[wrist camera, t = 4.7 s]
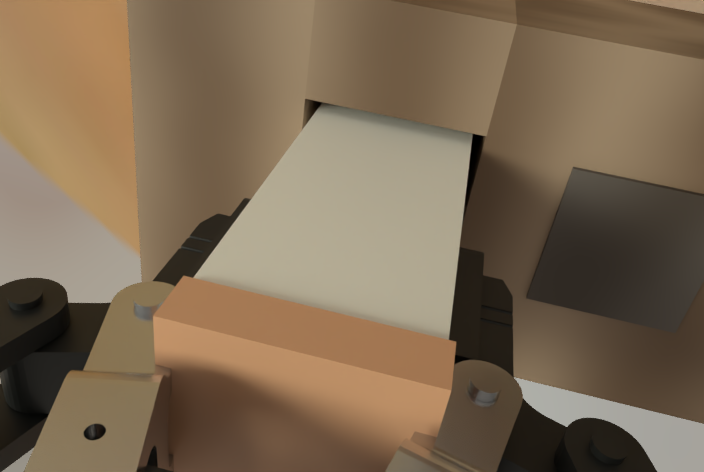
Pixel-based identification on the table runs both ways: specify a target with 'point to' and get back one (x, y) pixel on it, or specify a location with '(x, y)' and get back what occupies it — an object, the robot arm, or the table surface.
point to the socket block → (485, 158)
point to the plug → (323, 305)
